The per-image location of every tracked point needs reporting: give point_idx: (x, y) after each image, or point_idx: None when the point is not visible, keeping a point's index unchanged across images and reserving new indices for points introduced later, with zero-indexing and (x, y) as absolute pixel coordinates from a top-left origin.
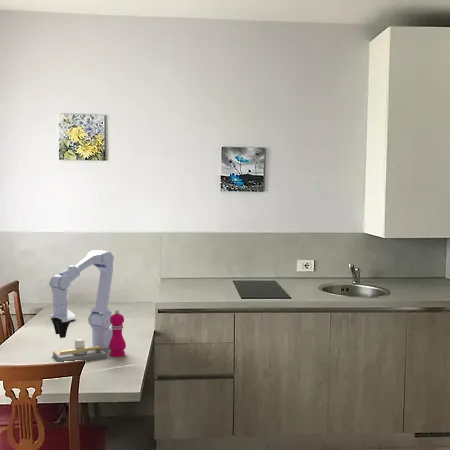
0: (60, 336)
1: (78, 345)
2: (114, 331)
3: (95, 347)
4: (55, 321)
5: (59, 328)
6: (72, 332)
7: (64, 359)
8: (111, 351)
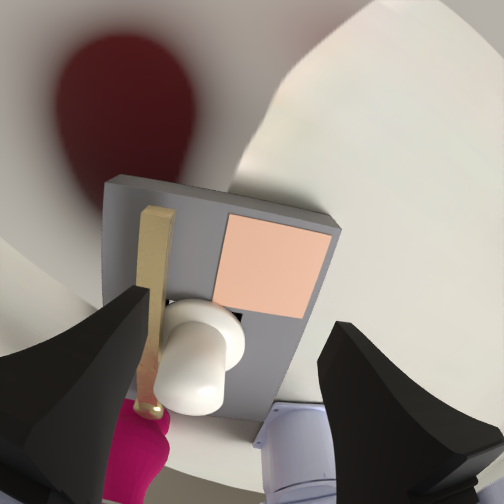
0: (122, 294)
1: (164, 358)
2: (105, 491)
3: (139, 398)
4: (397, 451)
5: (38, 349)
6: (497, 390)
7: (108, 205)
8: (140, 416)
